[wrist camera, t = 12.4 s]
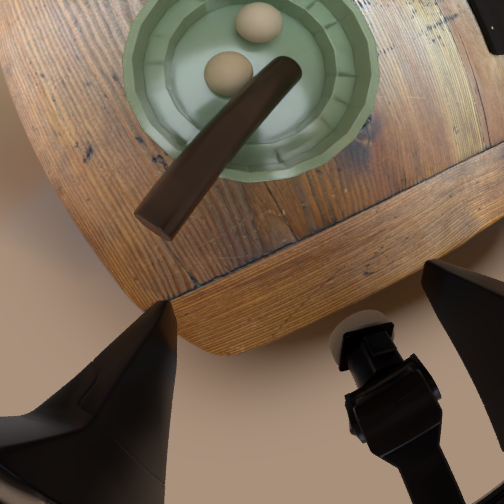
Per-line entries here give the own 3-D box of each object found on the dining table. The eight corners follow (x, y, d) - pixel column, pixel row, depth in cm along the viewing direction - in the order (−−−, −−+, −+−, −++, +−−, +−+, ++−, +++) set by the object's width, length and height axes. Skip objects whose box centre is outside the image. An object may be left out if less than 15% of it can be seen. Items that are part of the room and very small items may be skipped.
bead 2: (272, 55, 16) (274, 35, 13) (229, 43, 15) (224, 21, 13) (287, 24, 15) (291, 2, 12) (246, 12, 15) (244, -11, 12)
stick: (267, 69, 17) (135, 219, 13) (279, 49, 15) (130, 208, 11) (294, 87, 17) (171, 244, 14) (308, 68, 15) (171, 237, 12)
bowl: (352, 159, 20) (384, 172, 16) (160, 181, 20) (142, 199, 15) (333, -11, 14) (359, -36, 9) (140, 3, 13) (119, -22, 9)
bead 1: (243, 109, 16) (264, 73, 14) (197, 99, 15) (213, 59, 13) (240, 84, 18) (258, 51, 15) (198, 74, 16) (213, 38, 14)
